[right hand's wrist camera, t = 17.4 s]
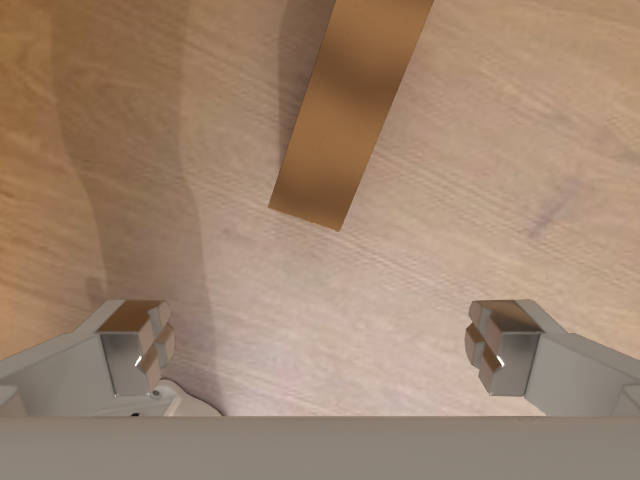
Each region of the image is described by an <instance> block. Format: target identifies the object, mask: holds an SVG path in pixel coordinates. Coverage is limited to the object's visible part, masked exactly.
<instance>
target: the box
mask: <svg viewBox="0 0 640 480" xmlns="http://www.w3.org/2000/svg"><path fill="white" fill-rule="evenodd" d="M433 2H434V0H336V1H335V4H334V7H333V10H332V14H331V17H330V20H329V23H328V26H327V29H326V32H325V35H324V38H323V41H322V44H321V47H320V50H319V53H318V56H317V59H316V62H315V65H314V68H313V71H312V74H311V78H310V81H309V84H308V87H307V90H306V93H305V96H304V99H303V102H302V105H301V108H300V111H299V114H298V117H297V120H296V123H295V126H294V129H293V132H292V135H291V138H290V142H289V145H288V148H287V151H286V154H285V157H284V160H283V163H282V166H281V169H280V172H279V175H278V178H277V181H276V184H275V187H274V190H273V193H272V196H271V199H270V202H269V206H268V208H271V209H274V210H277V211H279V212H282V213H285V214H288V215H291V216H294V217H297V218H300V219H302V220H305V221H308V222H311V223H314V224H317V225H320V226H323V227H325V228H328V229H331V230H334V231H337V232H340V229H341V227H342V224H343V222H344V220H345V217H346V215H347V212H348V210H349V207H350V205H351V202H352V200H353V198H354V195H355V193H356V190H357V188H358V185H359V183H360V180H361V178H362V176H363V173H364V171H365V168H366V166H367V163H368V161H369V158H370V156H371V153H372V151H373V149H374V146H375V144H376V141H377V139H378V136H379V134H380V131H381V129H382V127H383V124H384V122H385V119H386V117H387V114H388V112H389V109H390V107H391V105H392V102H393V100H394V97H395V95H396V92H397V90H398V87H399V85H400V83H401V80H402V78H403V75H404V73H405V70H406V68H407V65H408V63H409V61H410V58H411V56H412V53H413V51H414V48H415V46H416V43H417V41H418V38H419V36H420V34H421V31H422V29H423V26H424V24H425V21H426V19H427V16H428V14H429V12H430V9H431V7H432V4H433Z"/></svg>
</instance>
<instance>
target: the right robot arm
mask: <svg viewBox="0 0 640 480" xmlns="http://www.w3.org/2000/svg"><path fill="white" fill-rule="evenodd" d="M171 315H172V314H171V309H170V304H169V303H168V302H167V301H166V300H128V299H121V300H107V301H105V302H104V303H103V304H102V305H101V306H100V307H99V308H98V309H97V310H96V311H95V312H94V313H93V314H92V315H90V316H89V317H88V318H87V319H86V320H85V321H84V322H83V323H82V324H81V325H80V326H79V327H78V328H77V329H75V330H74V331H73V332H72V333H65V334H62V335H60V336H58V337H55V338H53V339H50V340H48V341H46V342H43V343H41V344H38V345H36V346H34V347H31V348H29V349H26V350H24V351H22V352H19V353H17V354H15V355H12V356H10V357H7V358H5V359H3V360H0V480H640V360H637V359H635V358H632V357H630V356H628V355H625V354H623V353H621V352H618V351H616V350H613V349H611V348H609V347H606V346H604V345H602V344H599V343H597V342H594V341H592V340H590V339H587V338H585V337H582V336H580V335H578V334H575V333H568V332H567V331H566V330H565V329H563V328H562V327H561V326H560V325H559V324H558V323H557V322H556V321H555V320H554V319H553V318H552V317H551V316H550V315H549V314H547V313H546V312H545V311H544V310H543V309H542V308H541V307H540V306H539V305H538V304H537V303H536V302H535V301H533V300H530V299H523V300H484V301H472V303H471V305H470V308H469V314H468V315H469V317H470V318H471V320H472V321H473V323H472V324H471V325H470V326H469V327H468V328H467V329H466V333H465V350H466V353H467V357H468V359H469V361H470V363H471V364H472V365H473V366H475V367H476V368H478V369H479V376H478V377H479V378H480V380H481V382H482V384H483V385H484V387H485V389H486V390H487V392H488V394H489V396H519V397H525V399H526V400H527V401H529V402H530V403H531V404H533V405H534V406H535V407H537V408H538V409H539V410H541V411H542V412H543V413H545V414H546V415H547V416H222V415H221V414H220V413H219V412H218V411H217V410H215V409H214V408H213V407H211V406H210V405H208V404H207V403H205V402H203V401H201V400H199V399H197V398H194V397H192V396H190V395H188V394H187V393H186V392H185V391H184V390H182V389H181V388H180V387H179V386H178V385H177V384H176V383H174V382H173V381H171V380H167V379H164V380H160V378H161V377H162V376H161V369H162V368H164V367H165V366H167V365H168V364H169V362H170V361H171V359H172V357H173V353H174V349H175V332H174V329H173V328H172V327H171V326H170V325H169V324H168V323H167V321H168V320H169V318H170V317H171ZM157 391H158V392H157Z"/></svg>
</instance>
